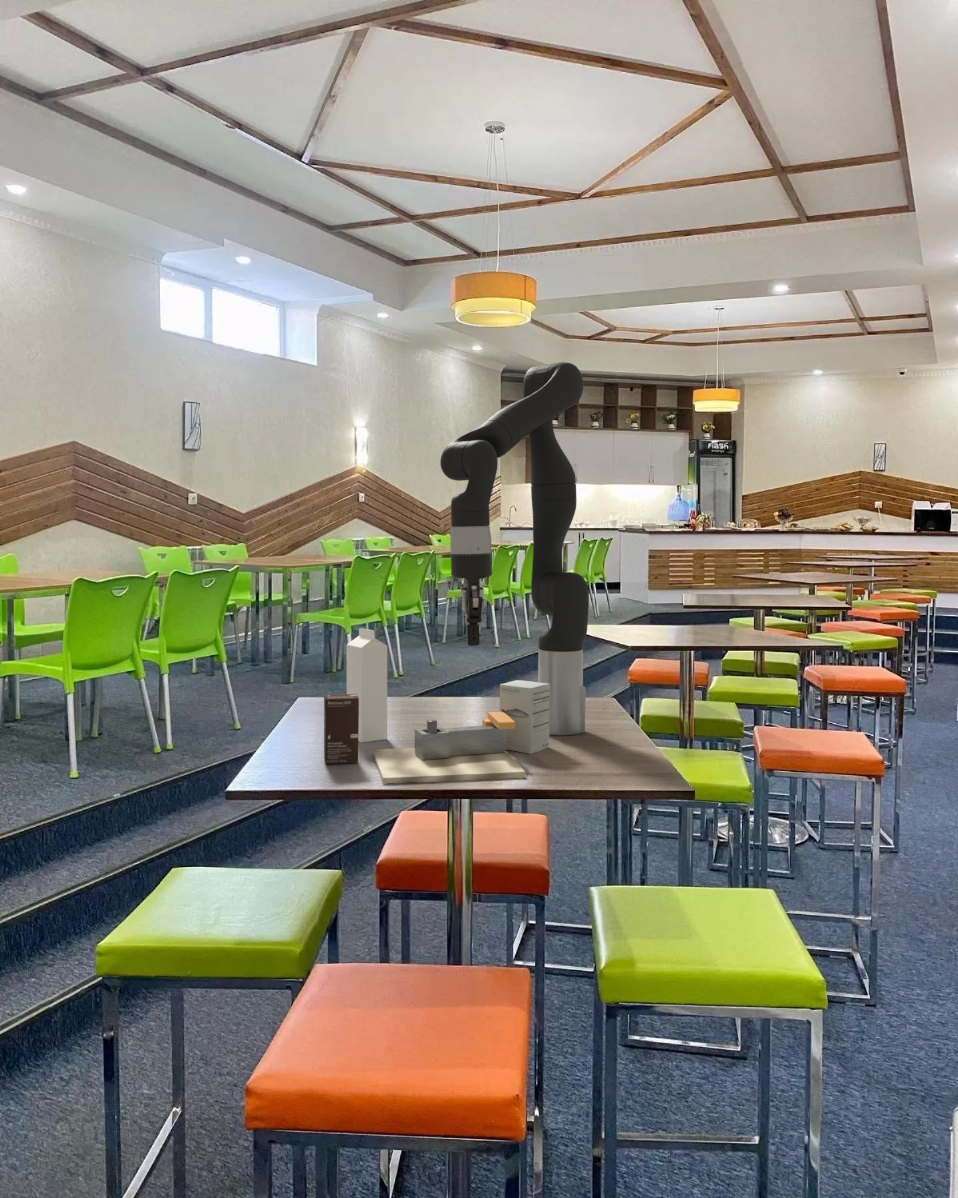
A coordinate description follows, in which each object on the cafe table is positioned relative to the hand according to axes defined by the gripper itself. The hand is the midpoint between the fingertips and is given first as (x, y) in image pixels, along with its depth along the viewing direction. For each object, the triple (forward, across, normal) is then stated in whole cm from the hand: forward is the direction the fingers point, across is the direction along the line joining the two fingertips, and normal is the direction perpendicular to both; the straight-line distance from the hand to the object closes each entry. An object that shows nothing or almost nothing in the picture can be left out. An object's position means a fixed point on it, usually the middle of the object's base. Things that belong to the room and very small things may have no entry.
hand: (473, 645), depth 176 cm
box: (+20, -4, +25) cm, 32 cm away
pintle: (+20, -5, +8) cm, 23 cm away
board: (+20, -8, +6) cm, 23 cm away
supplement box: (+21, +4, -10) cm, 24 cm away
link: (+19, -4, +3) cm, 20 cm away
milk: (+20, +16, +20) cm, 33 cm away
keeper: (+21, -4, -3) cm, 21 cm away
